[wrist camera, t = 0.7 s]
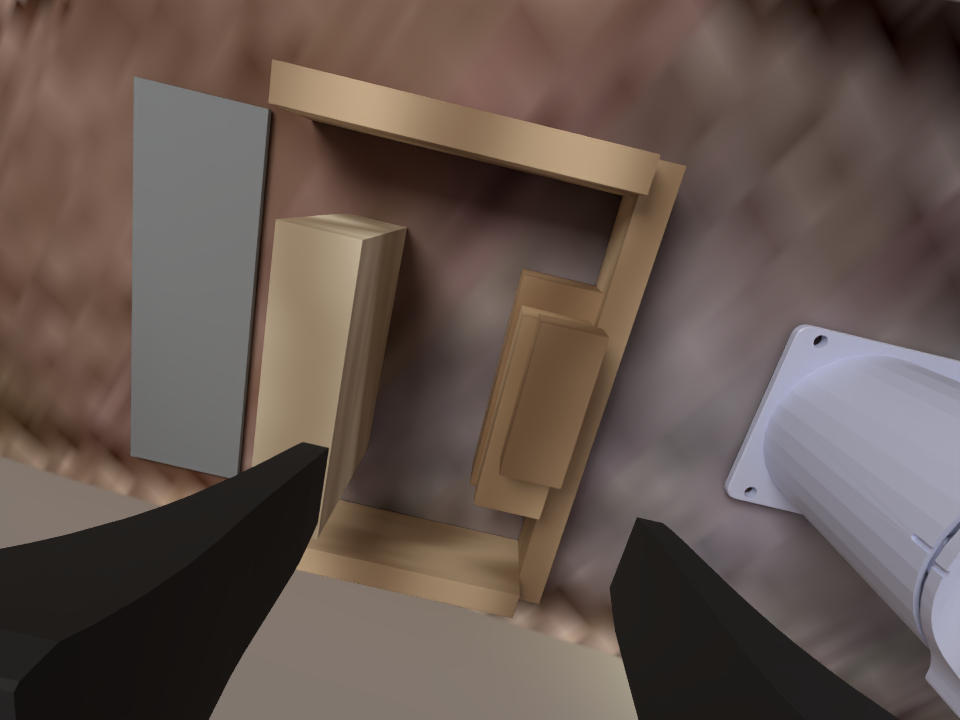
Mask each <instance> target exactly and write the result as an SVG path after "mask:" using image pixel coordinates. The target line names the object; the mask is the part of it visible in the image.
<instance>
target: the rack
mask: <svg viewBox="0 0 960 720" xmlns="http://www.w3.org/2000/svg"><path fill="white" fill-rule="evenodd" d="M269 103H270V104H273V105H275V106H278V107H280V108H283V109H285V110H288V111H290V112H293V113H295V114H298V115H300V116H302V117H305V118H307V119H310V120H313V121H317V122H321V123H325V124H330V125H334V126H338V127H342V128H346V129H350V130H354V131H358V132H362V133H367V134H371V135H375V136H379V137H383V138H387V139H391V140H395V141H399V142H403V143H408V144H412V145H416V146H420V147H424V148H428V149H432V150H436V151H440V152H445V153H449V154H453V155H457V156H461V157H465V158H469V159H473V160H477V161H481V162H486V163H490V164H494V165H498V166H502V167H506V168H510V169H514V170H518V171H523V172H527V173H531V174H535V175H539V176H543V177H547V178H551V179H555V180H559V181H564V182H568V183H572V184H576V185H580V186H584V187H588V188H592V189H596V190H601V191H605V192H609V193H613V194H617V195H621V196H623V197H622V200H621V204H620V207H619V210H618V213H617V217H616V220H615V223H614V227H613V230H612V233H611V236H610V240H609V243H608V246H607V250H606V253H605V256H604V259H603V263H602V266H601V269H600V273H599V276H598V279H597V282H596V287H597V288H598V289H599V290H600V291H601V292H602V293H603V294H604V295H603V298H602V301H601V304H600V308H599V311H598V314H597V317H596V320H595V324H594V327H597V328H601V329H603V330H604V331H605V333H606V334H607V335H608V337H609V338H610V339H609V342H608V345H607V348H606V351H605V354H604V357H603V360H602V363H601V366H600V369H599V373H598V376H597V379H596V382H595V385H594V388H593V391H592V394H591V397H590V400H589V403H588V406H587V410H586V413H585V416H584V419H583V422H582V425H581V428H580V431H579V434H578V437H577V440H576V443H575V447H574V450H573V453H572V456H571V459H570V462H569V465H568V468H567V471H566V474H565V477H564V480H563V484H562V487H561V489H558V488H554V487H549V491H548V494H547V497H546V500H545V503H544V506H543V510H542V513H541V516H540V519H534V518H530V517H526V516H525V519H524V522H523V526H522V529H521V532H520V535H519V539H518V540H514V539H510V538H505V537H501V536H496V535H492V534H488V533H483V532H479V531H475V530H470V529H466V528H461V527H457V526H453V525H448V524H444V523H439V522H435V521H431V520H426V519H422V518H417V517H413V516H409V515H404V514H400V513H395V512H391V511H387V510H382V509H378V508H373V507H369V506H365V505H360V504H356V503H352V502H347V501H343V500H339V501H338V503H337V505H336V507H335V508H334V510H333V512H332V514H331V516H330V517H329V519H328V521H327V523H326V525H325V526H324V528H323V530H322V532H321V534H320V535H319V537H318V539H313V538H311V539H310V542H309V544H308V546H307V548H306V550H305V552H304V554H303V557H302V559H301V561H300V563H299V564H298V566H297V568H296V570H300V571H305V572H309V573H313V574H318V575H322V576H327V577H331V578H336V579H340V580H345V581H349V582H354V583H358V584H363V585H367V586H371V587H376V588H380V589H385V590H389V591H394V592H399V593H403V594H407V595H412V596H416V597H420V598H425V599H429V600H434V601H439V602H443V603H447V604H452V605H456V606H461V607H465V608H470V609H474V610H478V611H483V612H487V613H492V614H496V615H501V616H505V617H510V618H513V615H514V612H515V609H516V606H517V603H518V600H523V601H527V602H532V603H536V604H539V602H540V599H541V596H542V594H543V591H544V588H545V585H546V582H547V579H548V576H549V573H550V570H551V567H552V564H553V561H554V558H555V555H556V552H557V549H558V546H559V543H560V540H561V537H562V534H563V531H564V528H565V525H566V522H567V519H568V516H569V513H570V510H571V507H572V504H573V501H574V498H575V496H576V493H577V490H578V487H579V484H580V481H581V478H582V475H583V472H584V469H585V466H586V463H587V460H588V457H589V454H590V451H591V448H592V445H593V442H594V439H595V436H596V433H597V430H598V427H599V424H600V421H601V418H602V415H603V412H604V409H605V406H606V403H607V400H608V397H609V395H610V392H611V389H612V386H613V383H614V380H615V377H616V374H617V371H618V368H619V365H620V362H621V359H622V356H623V353H624V350H625V347H626V344H627V341H628V338H629V335H630V332H631V329H632V326H633V323H634V320H635V317H636V314H637V311H638V308H639V305H640V302H641V299H642V297H643V294H644V291H645V288H646V285H647V282H648V279H649V276H650V273H651V270H652V267H653V264H654V261H655V258H656V255H657V252H658V249H659V246H660V243H661V240H662V237H663V234H664V231H665V228H666V225H667V222H668V219H669V216H670V213H671V210H672V207H673V204H674V201H675V198H676V196H677V193H678V190H679V187H680V184H681V181H682V178H683V175H684V172H685V169H686V166H683V165H679V164H675V163H671V162H667V161H663V160H659V158H660V154H656V153H652V152H648V151H644V150H640V149H636V148H631V147H627V146H623V145H619V144H615V143H611V142H607V141H603V140H599V139H595V138H591V137H587V136H583V135H579V134H574V133H570V132H566V131H562V130H558V129H554V128H550V127H546V126H542V125H538V124H534V123H530V122H526V121H522V120H518V119H513V118H509V117H505V116H501V115H497V114H493V113H489V112H485V111H481V110H477V109H473V108H469V107H465V106H461V105H456V104H452V103H448V102H444V101H440V100H436V99H432V98H428V97H424V96H420V95H416V94H412V93H408V92H404V91H400V90H395V89H391V88H387V87H383V86H379V85H375V84H371V83H367V82H363V81H359V80H355V79H351V78H347V77H343V76H339V75H334V74H330V73H326V72H322V71H318V70H314V69H310V68H306V67H302V66H298V65H294V64H290V63H286V62H282V61H277V60H273V59H272V69H271V80H270V92H269Z"/></svg>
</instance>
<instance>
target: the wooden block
mask: <svg viewBox="0 0 960 720" xmlns="http://www.w3.org/2000/svg"><path fill="white" fill-rule="evenodd" d="M406 231H407V227H403V226H399V225H395V224H391V223H387V222H382V221H378V220H374V219H370V218H366V217H362V216H357V215H353V214H349V213H343V214H331V215H320V216H308V217H297V218H285V219H276V223H275V233H274V244H273V254H272V264H271V275H270V285H269V295H268V306H267V316H266V326H265V337H264V347H263V357H262V368H261V378H260V388H259V399H258V409H257V420H256V430H255V440H254V451H253V461H252V467H254V466H256V465H258V464H260V463H262V462H264V461H266V460H268V459H270V458H272V457H274V456H276V455H277V454H279V453H281V452H283V451H285V450H287V449H289V448H291V447H293V446H295V445H297V444H299V443H301V442H306V443H310V444H314V445H319V446H323V447H328V448H329V452H328V459H327V466H326V472H325V479H324V486H323V492H322V499H321V506H320V512H319V519H318V524H317V526H316V528H315V531H314V533H313V535H312V537H311V538H313V539H318V537H319V535H320V534H321V532H322V530H323V528H324V526H325V525H326V523H327V521H328V519H329V517H330V516H331V514H332V512H333V510H334V508H335V507H336V505H337V503H338V501H339V499H340V498H341V496H342V494H343V492H344V490H345V489H346V487H347V485H348V483H349V481H350V480H351V478H352V476H353V474H354V472H355V471H356V469H357V467H358V465H359V463H360V462H361V460H362V458H363V456H364V454H365V453H366V451H367V449H368V445H369V439H370V434H371V428H372V422H373V417H374V411H375V405H376V400H377V394H378V389H379V383H380V377H381V372H382V366H383V360H384V355H385V349H386V343H387V338H388V332H389V327H390V321H391V315H392V310H393V304H394V298H395V293H396V287H397V282H398V276H399V270H400V265H401V259H402V253H403V248H404V242H405V237H406Z"/></svg>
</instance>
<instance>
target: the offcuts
mask: <svg viewBox="0 0 960 720" xmlns="http://www.w3.org/2000/svg"><path fill="white" fill-rule="evenodd" d="M603 295H604V294H603V293H602V292H601V291H600V290H599V289H598V288H597V287H596V286H594V285H590V284H586V283H581V282H577V281H573V280H569V279H565V278H560V277H556V276H552V275H548V274H544V273H540V272H535V271H531V270H527V269H523V268H522V272H521V276H520V280H519V284H518V288H517V292H516V296H515V299H514V303H513V307H512V311H511V315H510V319H509V323H508V327H507V331H506V335H505V339H504V343H503V347H502V350H501V354H500V358H499V362H498V366H497V370H496V374H495V378H494V382H493V386H492V390H491V394H490V398H489V401H488V405H487V409H486V413H485V417H484V421H483V425H482V429H481V433H480V437H479V441H478V445H477V448H476V452H475V456H474V460H473V465H472V473H471V481H470V485H474V486H475V495H474V504H473V505H477V506H482V507H486V508H491V509H495V510H499V511H504V512H508V513H512V514H517V515H521V516H526V517H530V518H534V519H540V516H541V513H542V510H543V506H544V503H545V500H546V497H547V494H548V491H549V487H554V488H558V489H561V487H562V484H563V480H564V477H565V474H566V471H567V468H568V465H569V462H570V459H571V456H572V453H573V450H574V447H575V443H576V440H577V437H578V434H579V431H580V428H581V425H582V422H583V419H584V416H585V413H586V410H587V406H588V403H589V400H590V397H591V394H592V391H593V388H594V385H595V382H596V379H597V376H598V373H599V369H600V366H601V363H602V360H603V357H604V354H605V351H606V348H607V345H608V342H609V339H610V338H609V337H608V335H607V334H606V333H605V331H604V330H603V329H601V328H597V327H594V324H595V320H596V317H597V314H598V311H599V308H600V304H601V301H602V298H603Z"/></svg>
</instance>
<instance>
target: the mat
mask: <svg viewBox="0 0 960 720" xmlns="http://www.w3.org/2000/svg"><path fill="white" fill-rule="evenodd" d="M271 112H272V110H269V109H266V108H261V107H257V106H253V105H249V104H245V103H241V102H237V101H233V100H229V99H225V98H220V97H216V96H212V95H208V94H204V93H200V92H196V91H192V90H188V89H183V88H179V87H175V86H171V85H167V84H163V83H159V82H155V81H151V80H147V79H142V78H138V77H134V136H133V248H132V359H131V456H134V457H139V458H143V459H147V460H152V461H156V462H161V463H165V464H169V465H174V466H178V467H183V468H187V469H191V470H196V471H200V472H205V473H209V474H213V475H218V476H222V477H227V478H231V477H234V476H236V475H238V474H240V464H241V453H242V441H243V430H244V418H245V407H246V396H247V384H248V373H249V362H250V350H251V339H252V328H253V316H254V305H255V294H256V282H257V271H258V259H259V248H260V237H261V225H262V214H263V203H264V191H265V180H266V169H267V157H268V146H269V135H270V123H271Z"/></svg>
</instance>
